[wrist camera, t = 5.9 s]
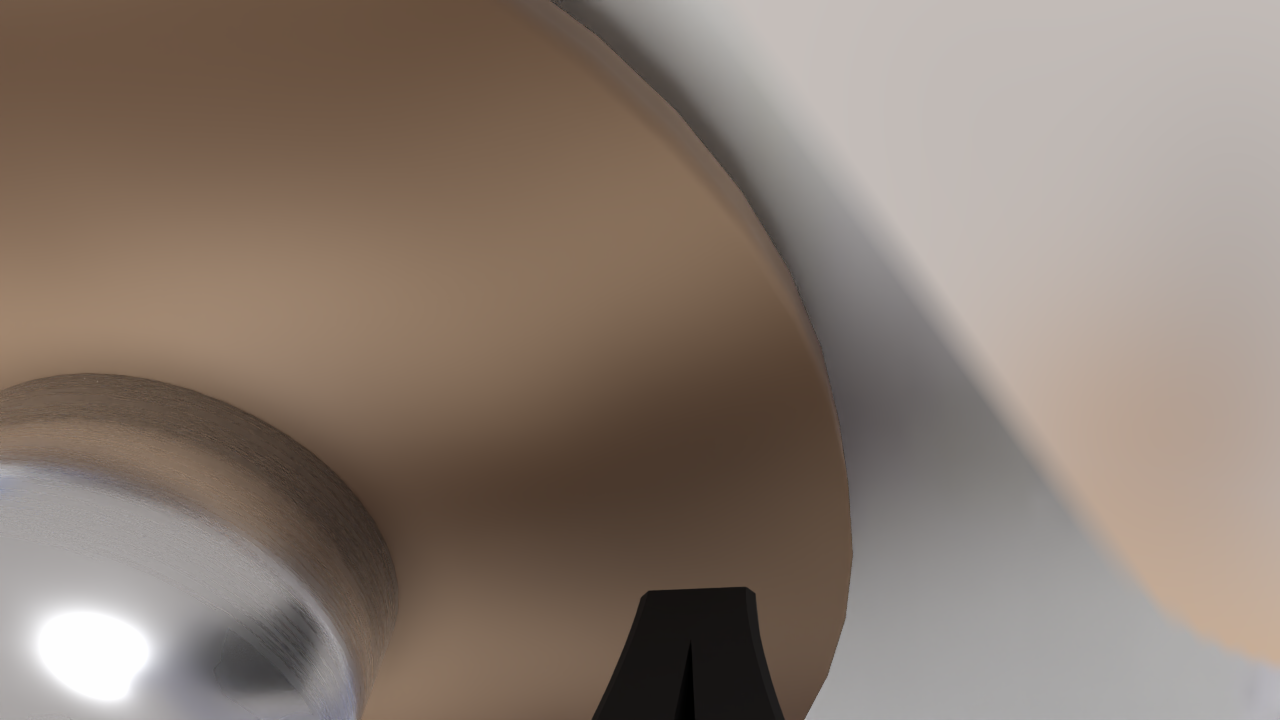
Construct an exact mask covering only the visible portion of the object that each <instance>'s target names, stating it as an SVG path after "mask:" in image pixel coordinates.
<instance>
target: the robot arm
mask: <svg viewBox="0 0 1280 720" xmlns="http://www.w3.org/2000/svg"><path fill="white" fill-rule="evenodd" d="M592 720H785V718H784V716H783V713H782V710H781V707H780V704H779V702H778V699H777V695H776V692H775V689H774V686H773V683H772V680H771V676H770V672H769V669H768V665H767V661H766V658H765V654H764V650H763V646H762V641H761V637H760V629H759V620H758V611H757V602H756V593H755V592H753V591H752V590H750V589H749V588H747V587H722V588H697V589H673V590H649V591H647V592H646V593H645V594H644V595H643V596H642V597H641V599H640V602H639V605H638V608H637V612H636V615H635V618H634V621H633V624H632V626H631V629H630V632H629V635H628V637H627V640H626V643H625V645H624V648H623V650H622V653H621V655H620V658H619V660H618V662H617V665H616V667H615V669H614V672H613V674H612V677H611V679H610V681H609V684H608V686H607V688H606V690H605V692H604V694H603V696H602V699H601V701H600V703H599V705H598V707H597V709H596V711H595V713H594V715H593V718H592Z"/></svg>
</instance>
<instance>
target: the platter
mask: <svg viewBox="0 0 1280 720" xmlns="http://www.w3.org/2000/svg"><path fill="white" fill-rule="evenodd" d="M86 373H90V374H110V375H124V376H130V377H137V378H143V379H149V380H156V381H159V382H163V383H167V384H171V385H175V386H179V387H183V388H186V389H190V390H193V391H196V392H198V393H201V394H204V395H207V396H209V397H212V398H215V399H218V400H221V401H223V402H225V403H228V404H230V405H232V406H234V407H236V408H238V409H240V410H243V411H245V412H247V413H249V414H251V415H253V416H255V417H257V418H259V419H261V420H262V421H264V422H266V423H267V424H269V425H271V426H272V427H274V428H276V429H278V430H279V431H281V432H283V433H284V434H286V435H287V436H289V437H290V438H292V439H293V440H294V441H296V442H297V443H299V444H300V445H301V446H303V447H304V448H305V449H307V450H308V451H310V452H311V453H312V454H314V455H315V456H316V457H317V458H318V459H319V460H321V461H322V462H323V463H324V464H325V465H326V466H327V467H328V468H330V469H331V470H332V471H333V472H334V473H335V474H336V475H337V476H338V477H339V478H340V479H341V480H342V481H343V482H344V483H345V484H346V485H347V487H348V488H349V489H350V490H351V491H352V492H353V493H354V494H355V495H356V496H357V497H358V499H359V500H360V502H361V503H362V504H363V506H364V507H365V509H366V510H367V511H368V513H369V514H370V516H371V517H372V518H373V520H374V521H375V523H376V525H377V527H378V529H379V531H380V533H381V534H382V536H383V538H384V540H385V542H386V544H387V547H388V549H389V552H390V555H391V558H392V561H393V563H394V566H395V572H396V577H397V583H398V612H397V617H396V622H395V627H394V630H393V633H392V635H391V638H390V641H389V644H388V646H387V649H386V652H385V655H384V657H383V660H382V663H381V666H380V668H379V671H378V674H377V677H376V679H375V682H374V685H373V688H372V690H371V693H370V696H369V699H368V701H367V704H366V707H365V710H364V713H363V715H362V718H361V720H592V718H593V715H594V713H595V711H596V709H597V707H598V705H599V703H600V701H601V699H602V696H603V694H604V692H605V690H606V688H607V686H608V684H609V681H610V679H611V677H612V674H613V672H614V669H615V667H616V665H617V662H618V660H619V658H620V655H621V653H622V650H623V648H624V645H625V643H626V640H627V637H628V635H629V632H630V629H631V626H632V624H633V621H634V618H635V615H636V612H637V608H638V605H639V602H640V599H641V597H642V596H643V595H644V594H645V593H646V592H647V591H649V590H673V589H697V588H722V587H747V588H749V589H750V590H752V591H753V592H755V593H756V602H757V611H758V620H759V629H760V637H761V641H762V646H763V650H764V654H765V658H766V661H767V665H768V669H769V672H770V676H771V680H772V683H773V686H774V689H775V692H776V695H777V699H778V702H779V704H780V707H781V710H782V713H783V716H784V718H785V720H804V719H805V717H806V715H807V713H808V712H809V710H810V708H811V706H812V704H813V702H814V700H815V698H816V696H817V695H818V693H819V691H820V689H821V687H822V685H823V683H824V681H825V680H826V678H827V676H828V673H829V669H830V666H831V663H832V660H833V657H834V653H835V650H836V647H837V644H838V641H839V638H840V634H841V631H842V628H843V625H844V622H845V618H846V609H847V601H848V592H849V584H850V575H851V567H852V558H853V549H852V534H851V518H850V503H849V488H848V479H847V472H846V465H845V458H844V452H843V445H842V438H841V431H840V424H839V419H838V414H837V410H836V406H835V402H834V398H833V394H832V390H831V385H830V381H829V377H828V373H827V369H826V365H825V361H824V356H823V352H822V348H821V346H820V343H819V341H818V338H817V336H816V334H815V331H814V329H813V326H812V324H811V322H810V319H809V317H808V314H807V312H806V309H805V307H804V305H803V302H802V300H801V297H800V295H799V293H798V290H797V288H796V285H795V283H794V281H793V278H792V276H791V273H790V271H789V269H788V268H787V266H786V264H785V263H784V261H783V259H782V258H781V256H780V254H779V253H778V251H777V249H776V248H775V246H774V244H773V243H772V241H771V239H770V238H769V236H768V234H767V233H766V231H765V229H764V228H763V226H762V224H761V223H760V221H759V219H758V218H757V216H756V214H755V213H754V211H753V209H752V208H751V206H750V204H749V203H748V201H747V199H746V198H745V196H744V194H743V193H742V191H741V190H740V189H739V187H738V186H737V185H736V184H735V182H734V181H733V180H732V179H731V177H730V176H729V175H728V174H727V173H726V171H725V170H724V169H723V168H722V166H721V165H720V164H719V163H718V161H717V160H716V159H715V158H714V156H713V155H712V154H711V153H710V151H709V150H708V149H707V148H706V146H705V145H704V144H703V143H702V142H701V140H700V139H699V138H698V137H697V135H696V134H695V133H694V132H693V130H692V129H691V128H690V127H689V125H688V124H687V123H686V122H685V120H684V119H683V118H682V117H681V115H680V114H679V113H678V112H677V111H676V110H675V109H674V108H673V107H672V106H671V105H670V104H669V103H668V102H667V101H666V100H665V99H663V98H662V97H661V96H660V95H659V94H658V93H657V92H656V91H655V90H654V89H653V88H652V87H651V86H650V85H649V84H648V83H647V82H646V81H645V80H644V79H643V78H641V77H640V76H639V75H638V74H637V73H636V72H635V71H634V70H633V69H632V68H631V67H630V66H629V65H628V64H627V63H626V62H625V61H624V60H623V59H622V58H620V57H619V56H618V55H617V54H616V53H615V52H614V51H613V50H612V49H611V48H610V47H609V46H608V45H607V44H606V43H605V42H604V41H603V40H602V39H601V38H600V37H598V36H597V35H596V34H595V33H593V32H592V31H590V30H589V29H588V28H586V27H585V26H584V25H582V24H581V23H580V22H578V21H577V20H576V19H574V18H573V17H572V16H570V15H569V14H567V13H566V12H565V11H563V10H562V9H561V8H559V7H558V6H557V5H555V4H554V3H553V2H551V1H550V0H0V391H2V390H4V389H7V388H10V387H12V386H15V385H18V384H21V383H24V382H27V381H31V380H36V379H41V378H46V377H51V376H56V375H71V374H86Z"/></svg>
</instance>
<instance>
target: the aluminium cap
mask: <svg viewBox="0 0 1280 720" xmlns="http://www.w3.org/2000/svg"><path fill="white" fill-rule="evenodd" d="M397 612H398V583H397V577H396V572H395V566H394V563H393V561H392V558H391V555H390V552H389V549H388V547H387V544H386V542H385V540H384V538H383V536H382V534H381V533H380V531H379V529H378V527H377V525H376V523H375V521H374V520H373V518H372V517H371V516H370V514H369V513H368V511H367V510H366V509H365V507H364V506H363V504H362V503H361V502H360V500H359V499H358V497H357V496H356V495H355V494H354V493H353V492H352V491H351V490H350V489H349V488H348V487H347V485H346V484H345V483H344V482H343V481H342V480H341V479H340V478H339V477H338V476H337V475H336V474H335V473H334V472H333V471H332V470H331V469H330V468H328V467H327V466H326V465H325V464H324V463H323V462H322V461H321V460H319V459H318V458H317V457H316V456H315V455H314V454H312V453H311V452H310V451H308V450H307V449H305V448H304V447H303V446H301V445H300V444H299V443H297V442H296V441H294V440H293V439H292V438H290V437H289V436H287V435H286V434H284V433H283V432H281V431H279V430H278V429H276V428H274V427H272V426H271V425H269V424H267V423H266V422H264V421H262V420H261V419H259V418H257V417H255V416H253V415H251V414H249V413H247V412H245V411H243V410H240V409H238V408H236V407H234V406H232V405H230V404H228V403H225V402H223V401H221V400H218V399H215V398H212V397H209V396H207V395H204V394H201V393H198V392H196V391H193V390H190V389H186V388H183V387H179V386H175V385H171V384H167V383H163V382H159V381H156V380H149V379H143V378H137V377H130V376H124V375H110V374H90V373H86V374H71V375H56V376H51V377H46V378H41V379H36V380H31V381H27V382H24V383H21V384H18V385H15V386H12V387H10V388H7V389H4V390H2V391H0V720H361V718H362V715H363V713H364V710H365V707H366V704H367V701H368V699H369V696H370V693H371V690H372V688H373V685H374V682H375V679H376V677H377V674H378V671H379V668H380V666H381V663H382V660H383V657H384V655H385V652H386V649H387V646H388V644H389V641H390V638H391V635H392V633H393V630H394V627H395V622H396V617H397Z"/></svg>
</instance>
